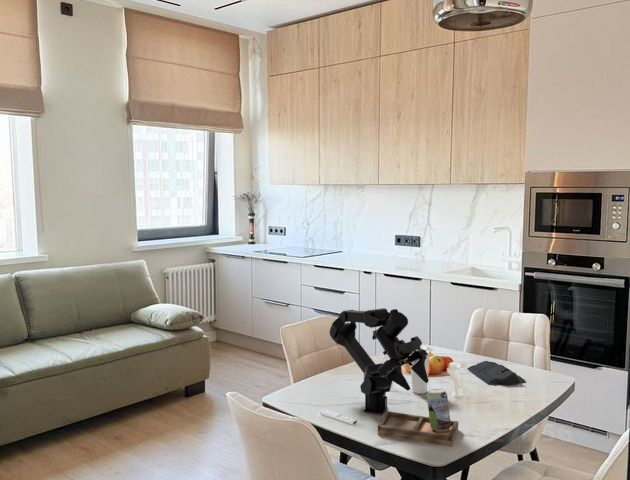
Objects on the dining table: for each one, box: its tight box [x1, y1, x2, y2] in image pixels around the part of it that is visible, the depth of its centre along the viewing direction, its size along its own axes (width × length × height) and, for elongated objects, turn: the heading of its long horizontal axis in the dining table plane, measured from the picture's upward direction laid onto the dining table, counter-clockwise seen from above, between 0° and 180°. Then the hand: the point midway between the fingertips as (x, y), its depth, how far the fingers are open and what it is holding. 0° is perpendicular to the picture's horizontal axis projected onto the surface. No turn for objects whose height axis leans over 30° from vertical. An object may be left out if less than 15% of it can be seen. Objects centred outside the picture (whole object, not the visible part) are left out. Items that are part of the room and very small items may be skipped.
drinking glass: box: [409, 348, 430, 395], centre depth 208 cm, size 7×7×15 cm
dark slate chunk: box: [466, 360, 526, 387], centre depth 225 cm, size 15×22×5 cm
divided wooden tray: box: [377, 411, 459, 447], centre depth 175 cm, size 22×12×3 cm, turn 68°
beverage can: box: [426, 388, 451, 431], centre depth 173 cm, size 6×7×12 cm
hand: (418, 386), depth 177 cm, fingers open, 9 cm apart
